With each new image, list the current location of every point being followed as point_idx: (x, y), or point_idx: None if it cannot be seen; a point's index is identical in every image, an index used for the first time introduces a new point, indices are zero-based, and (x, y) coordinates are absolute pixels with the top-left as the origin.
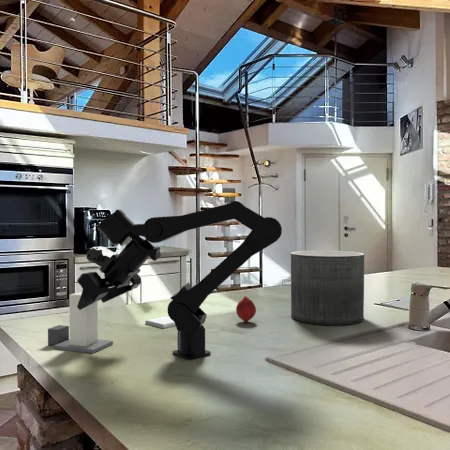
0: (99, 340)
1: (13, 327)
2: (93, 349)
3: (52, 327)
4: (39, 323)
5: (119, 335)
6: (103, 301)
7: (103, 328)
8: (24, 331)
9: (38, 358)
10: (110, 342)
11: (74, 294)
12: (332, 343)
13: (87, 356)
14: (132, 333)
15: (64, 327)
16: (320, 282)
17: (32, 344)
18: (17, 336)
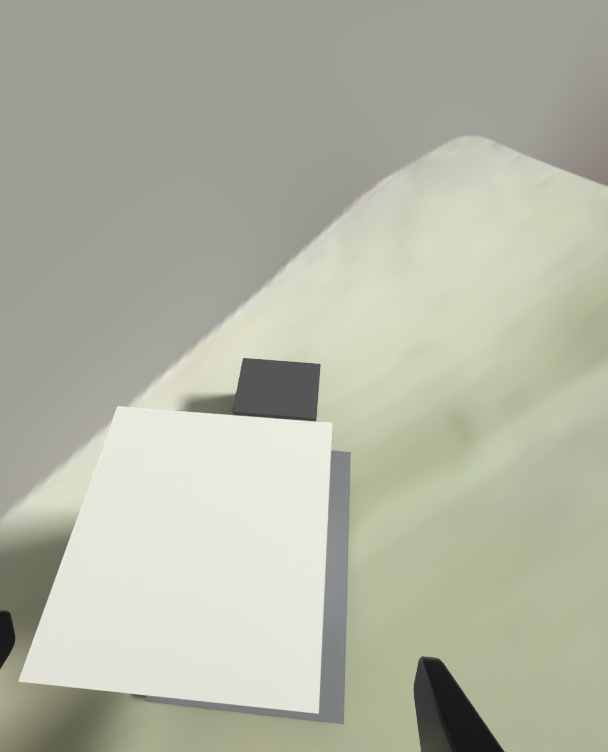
0: (326, 621)
1: (415, 183)
2: (151, 699)
3: (269, 363)
4: (494, 213)
5: (515, 644)
6: (418, 698)
7: (578, 467)
8: (388, 230)
9: (75, 464)
10: (316, 719)
11: (119, 459)
12: None
13: (99, 693)
14: (597, 716)
15: (282, 415)
16: None
17: (251, 337)
18: (328, 245)
